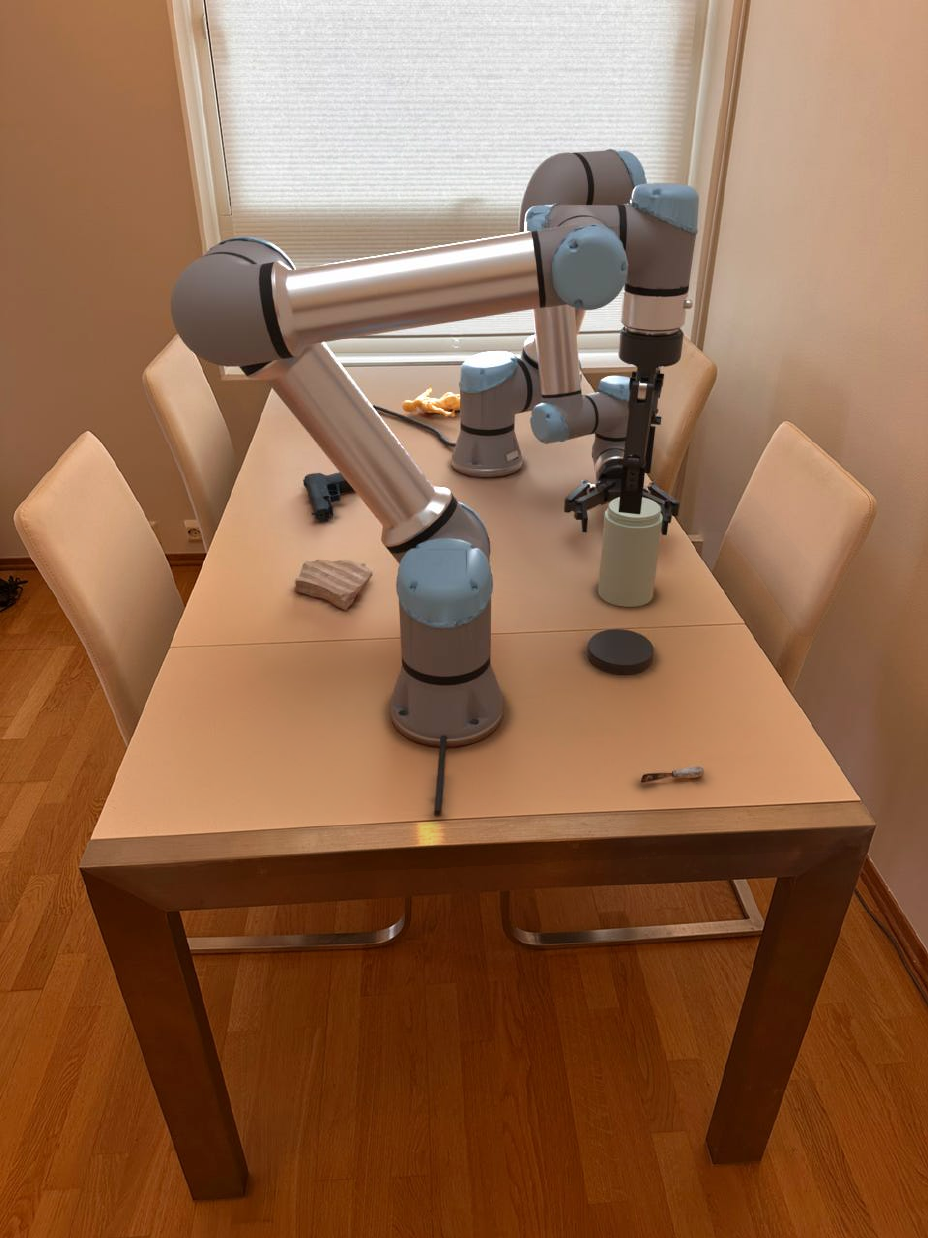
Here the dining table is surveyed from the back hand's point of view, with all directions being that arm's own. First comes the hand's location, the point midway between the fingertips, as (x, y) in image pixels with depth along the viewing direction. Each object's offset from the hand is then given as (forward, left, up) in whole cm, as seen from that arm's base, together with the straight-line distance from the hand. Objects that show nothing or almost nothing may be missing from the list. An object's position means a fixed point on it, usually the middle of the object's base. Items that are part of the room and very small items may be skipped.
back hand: (625, 526), depth 152 cm
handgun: (-44, -40, -7) cm, 60 cm away
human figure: (-88, +1, -7) cm, 88 cm away
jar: (+9, -4, -7) cm, 12 cm away
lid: (+25, -14, -6) cm, 29 cm away
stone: (-10, -49, -7) cm, 51 cm away
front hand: (+25, -15, +19) cm, 34 cm away
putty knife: (+51, -22, -7) cm, 56 cm away
